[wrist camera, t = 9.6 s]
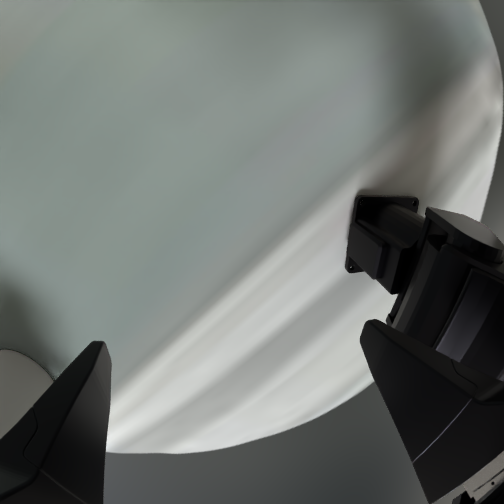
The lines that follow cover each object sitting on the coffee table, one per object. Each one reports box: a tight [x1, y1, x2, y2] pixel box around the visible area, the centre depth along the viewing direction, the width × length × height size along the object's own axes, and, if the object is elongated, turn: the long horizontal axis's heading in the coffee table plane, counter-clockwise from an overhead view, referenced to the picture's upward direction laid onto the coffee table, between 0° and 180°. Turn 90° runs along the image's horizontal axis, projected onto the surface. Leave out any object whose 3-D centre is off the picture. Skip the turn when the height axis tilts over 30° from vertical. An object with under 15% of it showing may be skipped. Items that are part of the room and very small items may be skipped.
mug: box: [0, 349, 53, 439], centre depth 18 cm, size 12×8×11 cm
